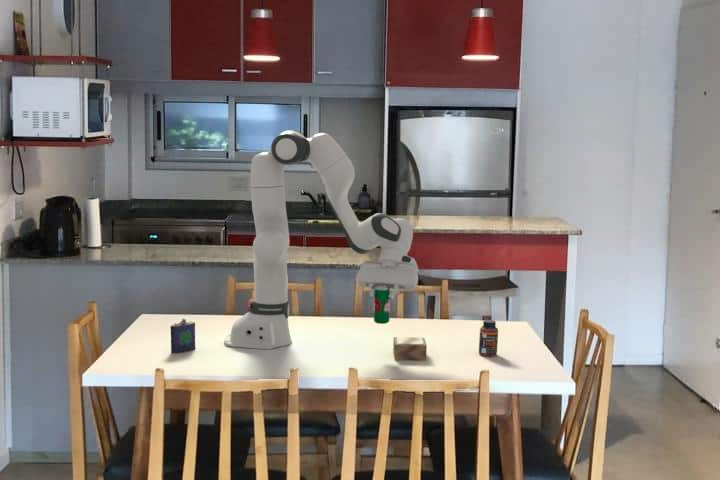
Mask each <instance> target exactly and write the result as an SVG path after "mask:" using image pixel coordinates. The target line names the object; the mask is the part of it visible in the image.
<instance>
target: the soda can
mask: <svg viewBox="0 0 720 480" xmlns="http://www.w3.org/2000/svg"><path fill="white" fill-rule="evenodd" d="M373 291H374V298H373V322H374V323H375V324H380V325H383V324H385V325H386V324H389V322H390V318H391V317H390V313H391V312H390V308H391V307H390V306H391V305H390V302H391V299H389V298H388V295H389V292H391V289H389V286H388V285H375V288H374V290H373Z"/></svg>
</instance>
